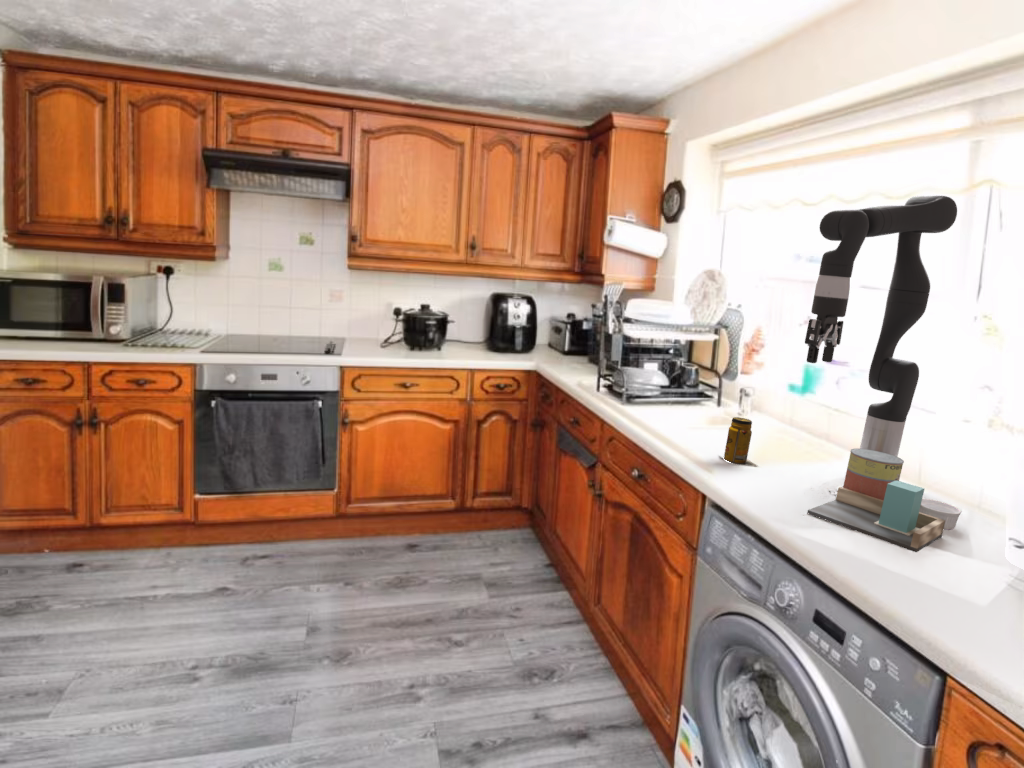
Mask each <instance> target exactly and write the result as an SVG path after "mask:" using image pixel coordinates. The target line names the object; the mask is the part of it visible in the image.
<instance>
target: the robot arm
mask: <svg viewBox="0 0 1024 768" xmlns="http://www.w3.org/2000/svg"><path fill="white" fill-rule="evenodd" d="M957 216H958V205H957V203H956V201H955V200H954V199H953V198H952V197H950V196H946V195H917V196H912V197H909V199H908V200H906V201H905V204H903V205H880V206H871V207H870V206H869V207H867V208H866V207H865V208H860V209H842V210H841V209H840V210H832V211H830V212H828V213H826V214H825V215H823V217H822V218H821V220H820V224H819V232H820V235H822V237H823V238H825V239H826V240H829V241H831V242H832V241H833V242H834V241H835V242H840V243H839V245H838V246H837V247H836V248H835V249H832V250H829V251H826V252H824V253H823V255H822V258H821V262H820V266H819V274H818V278H817V281H816V284H815V290H814V294H813V295H814V296H813V301H812V306H811V314H813V315H816V317H815V318H816V319H814V318H809V320H808V323H807V324H808V325H807V330H806V333H805V338H804V344H805V345H807V347H808V350H807V356H806V362H807V363H808V364H809V363H811V364H816V363H818V359H819V358H818V357H819V352H820V347H821V345H822V342H824V348H823V352H822V358H821V360H822V362H824V363H825V362H826V363H832V362H833V359H834V352H835V348H836V347H837V345H838V346H839V345H841V339H842V334H843V329H844V321H843V320H841V319H840V320H839V319H838V318H843V317H845V316H846V314H847V307H848V302H849V297H850V293H851V292H850V291H851V284H852V283H851V282H852V275H853V270H854V264H855V261H856V258H857V256H858V254H859V252H860V250H861V248H862V245H863V244H864V242H865V240H866V238H874V237H880V236H886V235H891V234H898V238H897V247H896V256H895V259H894V260H895V262H894V264H893V265H894V266H893V271H892V276H891V280H890V284H889V289H888V293H887V298H886V304H885V310H884V315H883V318H882V319H883V320H882V324H881V329H880V334H879V337H878V341H877V343H876V347H875V350H874V354H873V356H872V360H871V363H870V366H869V371H868V385H869V386H870V388H871V389H873V390H876V391H879V392H885V393H889V394H892V395H891V399H890V400H888V401H886V402H879V403H877V402H876V403H871V404H870V405H869V407H868V409H867V414H866V418H865V422H864V423H865V424H864V429H863V432H862V437H861V442H860V446H859V449H868V450H874V451H879V452H883V453H887V454H890V455H893V456H896V457H898V456H899V451H900V448H901V447H900V446H901V443H902V440H903V439H902V438H903V435H904V430H905V425H906V421H907V416H908V414H909V413H910V410H911V406H912V403H913V398H914V396H915V392H916V389H917V385H918V382H919V377H920V369H919V365H918V364H917V363H916V362H914V361H910V360H905V359H900V358H899V359H898V358H895V357H894V354H895V350H896V348H897V346H898V343H899V341H900V340H901V338H902V337H903V336H904V335H905V334H906V333H907V332H908V331H909V330H911V328H912V327H913V326H914V325H915V324H916V323H918V321H919V320H920V319H921V318H922V317H923V316H924V314H925V312H926V309H927V306H928V301H929V297H930V291H931V281H930V277H929V275H928V273H927V270H926V268H925V265H924V263H923V261H922V258H921V252H920V251H921V250H920V247H921V246H920V245H921V238H922V234H939V233H943V232H946V231H947V230H949V229H950V228H951V227H952V226H953V225H954V224H955V221H956V220H957Z"/></svg>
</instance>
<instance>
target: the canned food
mask: <svg viewBox="0 0 1024 768" xmlns="http://www.w3.org/2000/svg"><path fill="white" fill-rule="evenodd" d="M904 463H905V461H904V460H903V458H900V457H896V456H893V455H890V454H887V453H883V452H879V451H874V450H868V449H860V448H851V449H850V453H849V459H848V463H847V466H846V467H847V468H846V472H845V477H844V482H843V486H842V488H846V489H849V490H852V491H855V492H858V493H861V494H864V495H867V496H871V497H874V498H877V499H880V500H883V501H884V497H885V493H886V488H887V484H888V483H891V482H894V481H896V480H897V481H900V478H901V475H902V469H903V465H904Z"/></svg>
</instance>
